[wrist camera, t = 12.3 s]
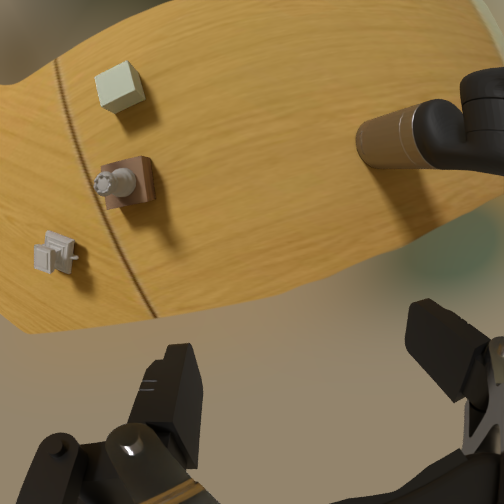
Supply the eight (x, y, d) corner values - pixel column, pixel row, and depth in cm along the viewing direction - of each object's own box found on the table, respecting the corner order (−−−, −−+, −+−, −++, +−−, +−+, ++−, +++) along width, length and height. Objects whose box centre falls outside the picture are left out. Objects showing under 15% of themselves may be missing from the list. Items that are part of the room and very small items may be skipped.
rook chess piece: (126, 203, 39) (104, 209, 31) (105, 185, 38) (81, 188, 30) (143, 179, 38) (123, 179, 31) (122, 162, 37) (99, 159, 30)
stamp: (47, 257, 45) (23, 270, 37) (50, 226, 43) (25, 235, 35) (82, 271, 46) (60, 287, 38) (86, 238, 45) (62, 249, 36)
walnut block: (150, 157, 42) (141, 155, 37) (155, 199, 44) (147, 201, 39) (112, 166, 42) (100, 166, 37) (118, 206, 44) (106, 209, 39)
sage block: (138, 72, 38) (127, 60, 32) (145, 99, 40) (135, 89, 34) (108, 86, 38) (94, 77, 32) (115, 114, 40) (101, 106, 34)
